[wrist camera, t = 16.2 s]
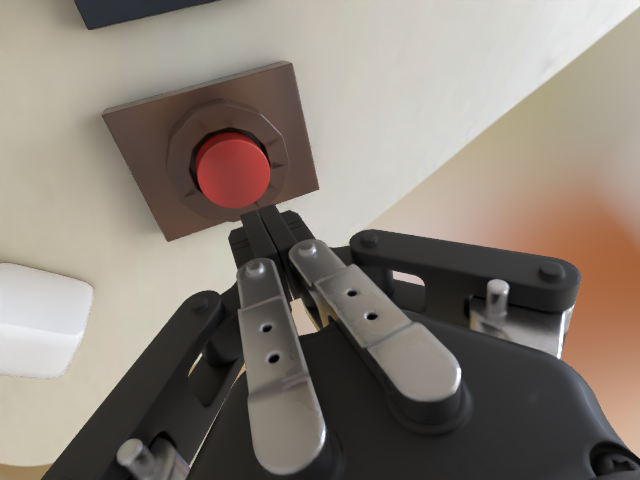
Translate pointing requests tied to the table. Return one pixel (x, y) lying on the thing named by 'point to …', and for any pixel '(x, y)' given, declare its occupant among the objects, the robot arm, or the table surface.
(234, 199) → the button
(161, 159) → the button block
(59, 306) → the power adapter
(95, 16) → the switch bracket
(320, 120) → the table surface
